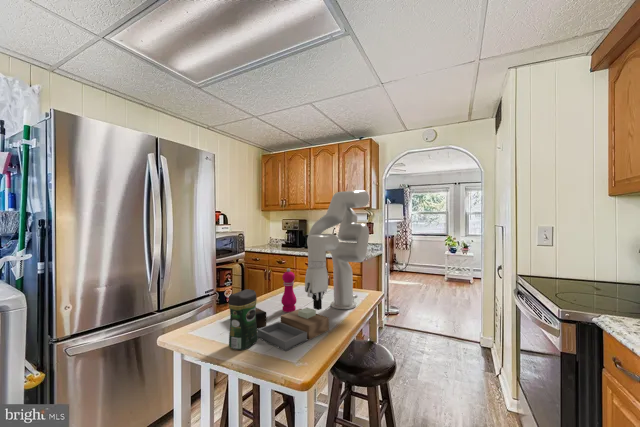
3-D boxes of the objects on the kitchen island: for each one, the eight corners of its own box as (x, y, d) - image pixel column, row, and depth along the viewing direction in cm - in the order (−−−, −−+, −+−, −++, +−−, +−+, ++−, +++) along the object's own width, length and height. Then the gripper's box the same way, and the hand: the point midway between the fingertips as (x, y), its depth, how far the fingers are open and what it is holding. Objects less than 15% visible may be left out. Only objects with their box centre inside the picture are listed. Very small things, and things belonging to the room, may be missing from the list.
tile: (307, 312, 110) (307, 307, 110) (315, 315, 107) (315, 310, 107) (298, 315, 107) (298, 310, 107) (307, 318, 103) (306, 313, 103)
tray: (278, 329, 106) (278, 321, 106) (307, 340, 95) (306, 332, 95) (257, 337, 99) (257, 329, 99) (285, 351, 88) (285, 342, 88)
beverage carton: (246, 314, 124) (246, 300, 124) (267, 326, 109) (267, 310, 109) (229, 319, 119) (229, 304, 119) (249, 332, 104) (249, 315, 104)
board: (300, 320, 115) (300, 308, 115) (328, 330, 104) (328, 317, 104) (280, 328, 107) (280, 315, 107) (309, 339, 96) (308, 325, 96)
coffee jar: (244, 337, 99) (243, 286, 100) (261, 341, 96) (260, 288, 96) (224, 348, 91) (223, 293, 91) (242, 353, 87) (241, 295, 88)
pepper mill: (294, 313, 124) (293, 269, 125) (279, 312, 126) (278, 269, 126) (298, 308, 131) (297, 267, 132) (284, 307, 133) (283, 266, 133)
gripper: (322, 261, 120) (322, 303, 119) (297, 265, 109) (298, 311, 108) (335, 263, 115) (335, 306, 114) (311, 267, 104) (311, 315, 103)
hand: (317, 308), depth 111 cm, fingers closed
